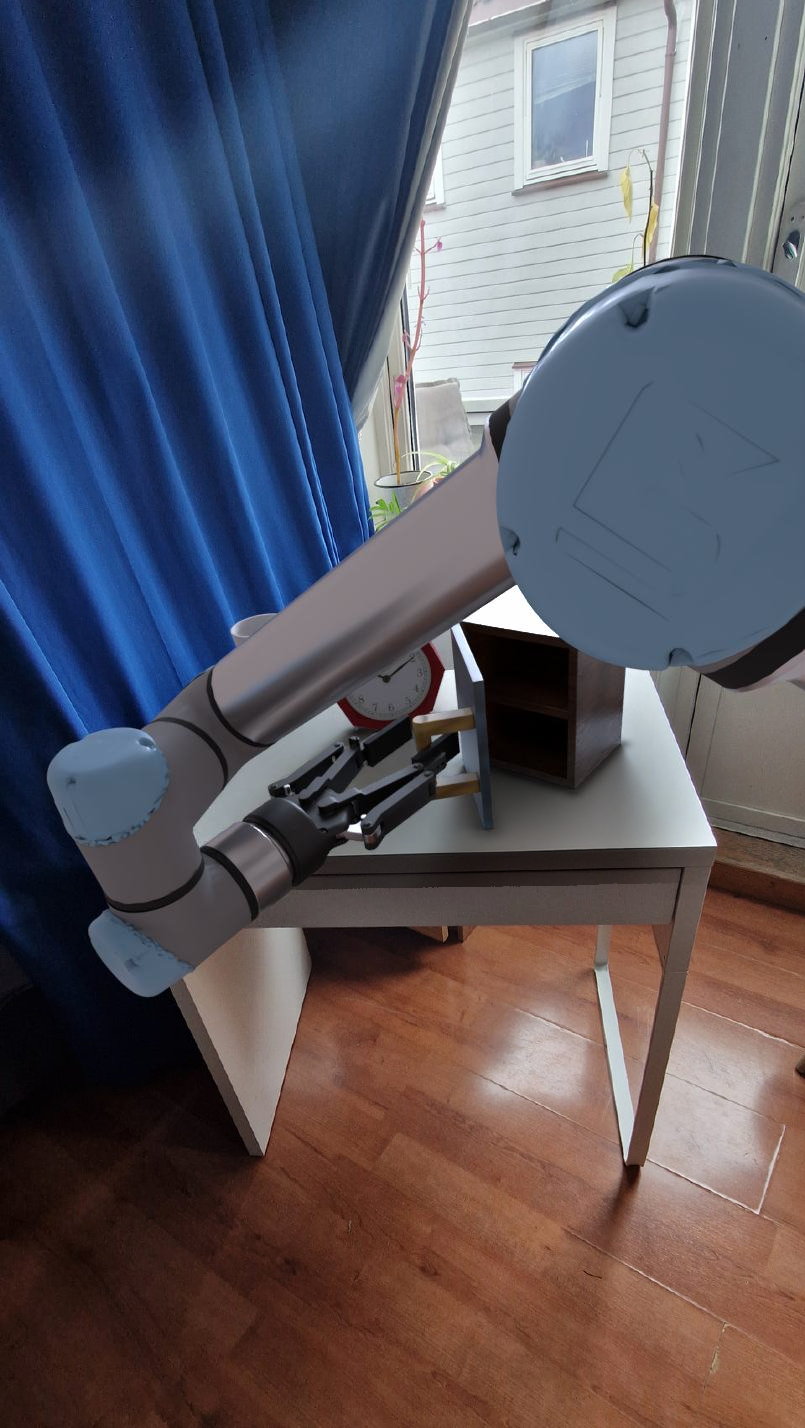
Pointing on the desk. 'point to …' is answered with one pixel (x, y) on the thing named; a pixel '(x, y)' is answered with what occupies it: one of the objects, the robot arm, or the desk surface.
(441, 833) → the desk surface
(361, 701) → the alarm clock
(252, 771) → the desk surface
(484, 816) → the door
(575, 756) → the cupboard
